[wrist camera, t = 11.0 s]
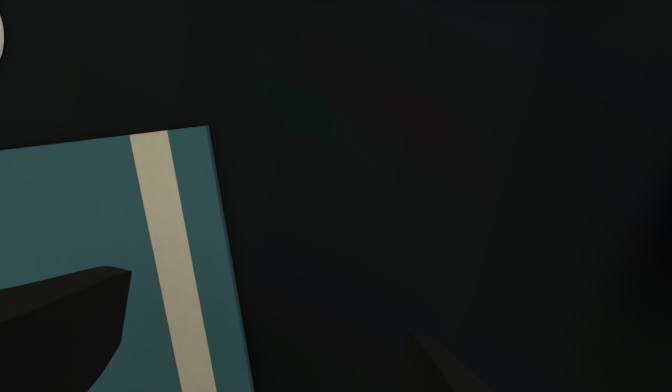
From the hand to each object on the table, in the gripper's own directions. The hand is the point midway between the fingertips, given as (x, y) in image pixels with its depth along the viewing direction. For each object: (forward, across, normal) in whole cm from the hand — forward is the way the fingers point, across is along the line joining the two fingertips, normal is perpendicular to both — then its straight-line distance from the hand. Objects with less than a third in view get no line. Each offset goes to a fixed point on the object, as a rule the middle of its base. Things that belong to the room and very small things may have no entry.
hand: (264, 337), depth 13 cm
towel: (+9, +12, +6) cm, 16 cm away
